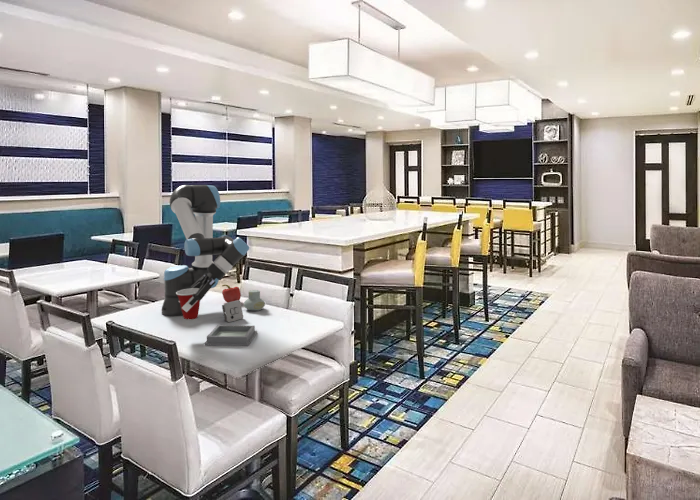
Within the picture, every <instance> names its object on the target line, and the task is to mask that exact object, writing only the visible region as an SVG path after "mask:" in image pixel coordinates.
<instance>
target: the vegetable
mask: <svg viewBox="0 0 700 500" xmlns="http://www.w3.org/2000/svg"><path fill="white" fill-rule="evenodd" d="M221 287H226V288H224V289H223V290H222V291H221V293H222V297H223V300H224V301H225V303H228V302H232V301H237V300H240V299H241V297H242V296H241V295H242V294H241V288H240V287H238V286H234V287H230V285H228V284H222V285H221ZM240 301H241V300H240Z"/></svg>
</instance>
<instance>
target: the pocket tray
mask: <svg viewBox="0 0 700 500" xmlns="http://www.w3.org/2000/svg"><path fill="white" fill-rule="evenodd" d="M255 327H256V326H255V325H242V324H241V325H233V324H230V325H228V324H226V325H225V324H223V325H222V324H217V325H216V326H215V327H214V329H212V330H211V332H209V334H208V335H207V336H206V341H205V342H204V344H203V345H204V346H213V347H214V346H220V347H221V346H224V347H226V346H227V347H249V346H250V344H251V342H252V341H254V338H255V336H256V335H257V333H258V331H257V330H256V328H255Z"/></svg>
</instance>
